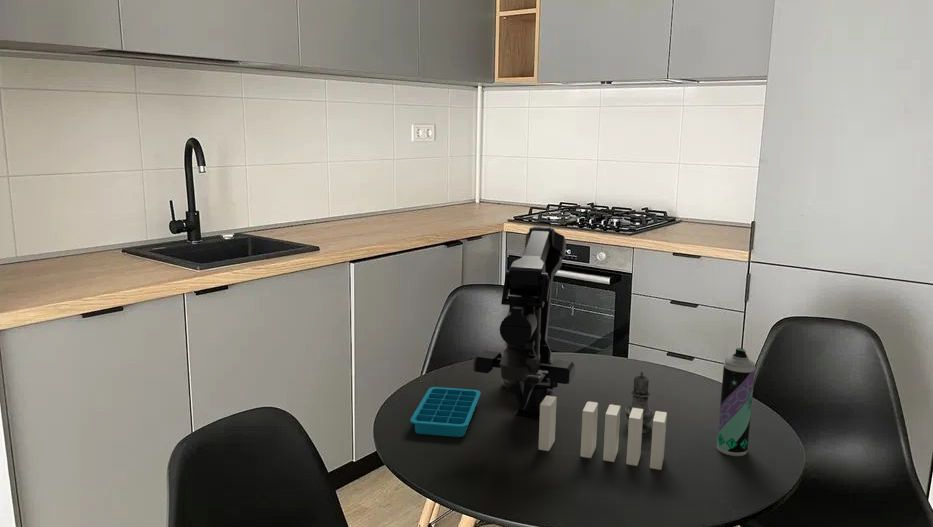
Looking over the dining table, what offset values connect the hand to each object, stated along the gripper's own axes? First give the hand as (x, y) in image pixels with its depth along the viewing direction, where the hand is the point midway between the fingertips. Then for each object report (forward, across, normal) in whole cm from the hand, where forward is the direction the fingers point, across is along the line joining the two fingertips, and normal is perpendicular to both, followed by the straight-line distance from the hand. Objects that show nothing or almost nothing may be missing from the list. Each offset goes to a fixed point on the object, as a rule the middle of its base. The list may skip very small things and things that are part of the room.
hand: (522, 409), depth 139 cm
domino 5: (+6, +26, 0) cm, 26 cm away
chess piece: (+7, +20, +15) cm, 26 cm away
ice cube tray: (+7, -18, +5) cm, 20 cm away
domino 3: (+6, +17, 0) cm, 18 cm away
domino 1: (+6, +5, 0) cm, 8 cm away
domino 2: (+6, +13, 0) cm, 15 cm away
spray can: (+7, +38, +11) cm, 41 cm away
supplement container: (+7, -8, +29) cm, 31 cm away
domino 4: (+6, +21, 0) cm, 22 cm away
